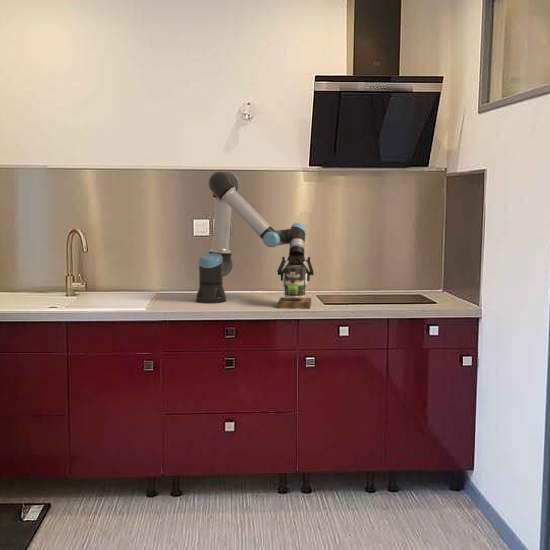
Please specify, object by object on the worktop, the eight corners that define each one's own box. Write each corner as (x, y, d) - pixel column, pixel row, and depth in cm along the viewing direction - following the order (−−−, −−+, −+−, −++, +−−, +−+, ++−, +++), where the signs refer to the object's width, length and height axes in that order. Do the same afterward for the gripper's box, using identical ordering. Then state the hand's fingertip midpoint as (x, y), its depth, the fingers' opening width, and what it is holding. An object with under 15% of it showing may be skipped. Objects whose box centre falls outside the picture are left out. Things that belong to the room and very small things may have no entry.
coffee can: (303, 298, 339) (303, 268, 337) (281, 297, 342) (282, 267, 340) (308, 295, 349) (308, 266, 347) (287, 294, 352) (287, 265, 350)
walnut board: (277, 308, 340) (277, 301, 339) (280, 303, 354) (280, 297, 354) (309, 308, 338) (309, 302, 338) (311, 303, 353) (311, 297, 353)
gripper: (320, 255, 358) (318, 290, 344) (274, 254, 360) (271, 290, 346) (319, 245, 352) (318, 280, 338) (273, 244, 354) (270, 280, 340)
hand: (294, 285), depth 342 cm, fingers closed on coffee can, 10 cm apart
